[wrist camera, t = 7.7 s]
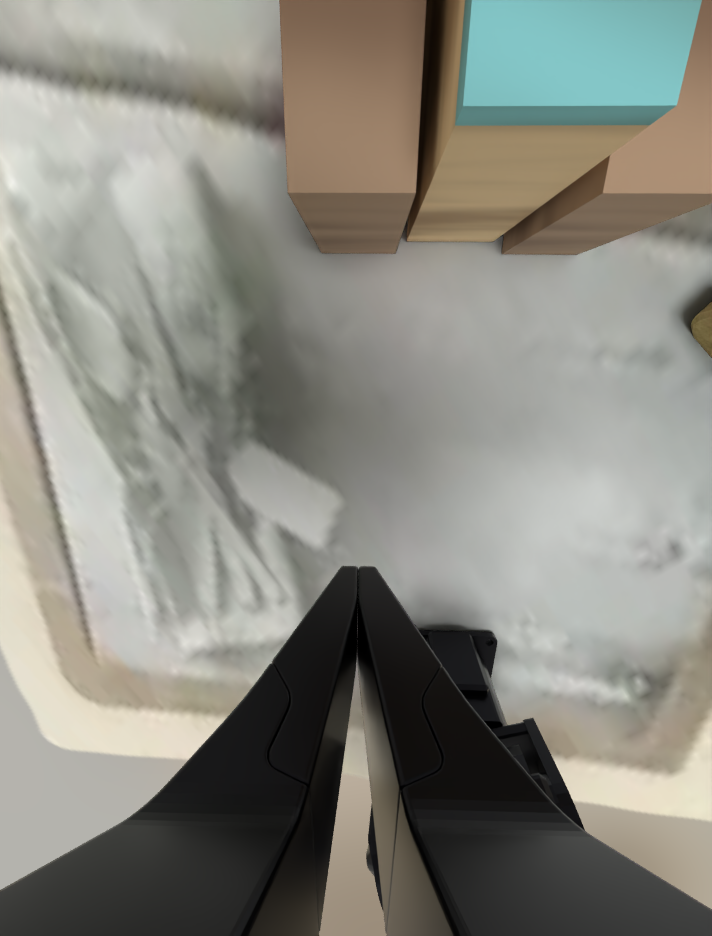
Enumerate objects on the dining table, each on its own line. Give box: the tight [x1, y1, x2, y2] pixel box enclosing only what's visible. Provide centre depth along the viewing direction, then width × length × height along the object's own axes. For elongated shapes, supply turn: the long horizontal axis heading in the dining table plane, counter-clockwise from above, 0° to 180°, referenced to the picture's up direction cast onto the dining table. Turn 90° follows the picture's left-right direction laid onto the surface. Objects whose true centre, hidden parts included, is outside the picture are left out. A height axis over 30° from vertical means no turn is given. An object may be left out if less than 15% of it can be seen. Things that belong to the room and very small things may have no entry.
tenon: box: [407, 0, 702, 242], centre depth 11 cm, size 6×4×11 cm, turn 179°
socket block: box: [279, 0, 712, 255], centre depth 12 cm, size 8×12×8 cm, turn 89°
